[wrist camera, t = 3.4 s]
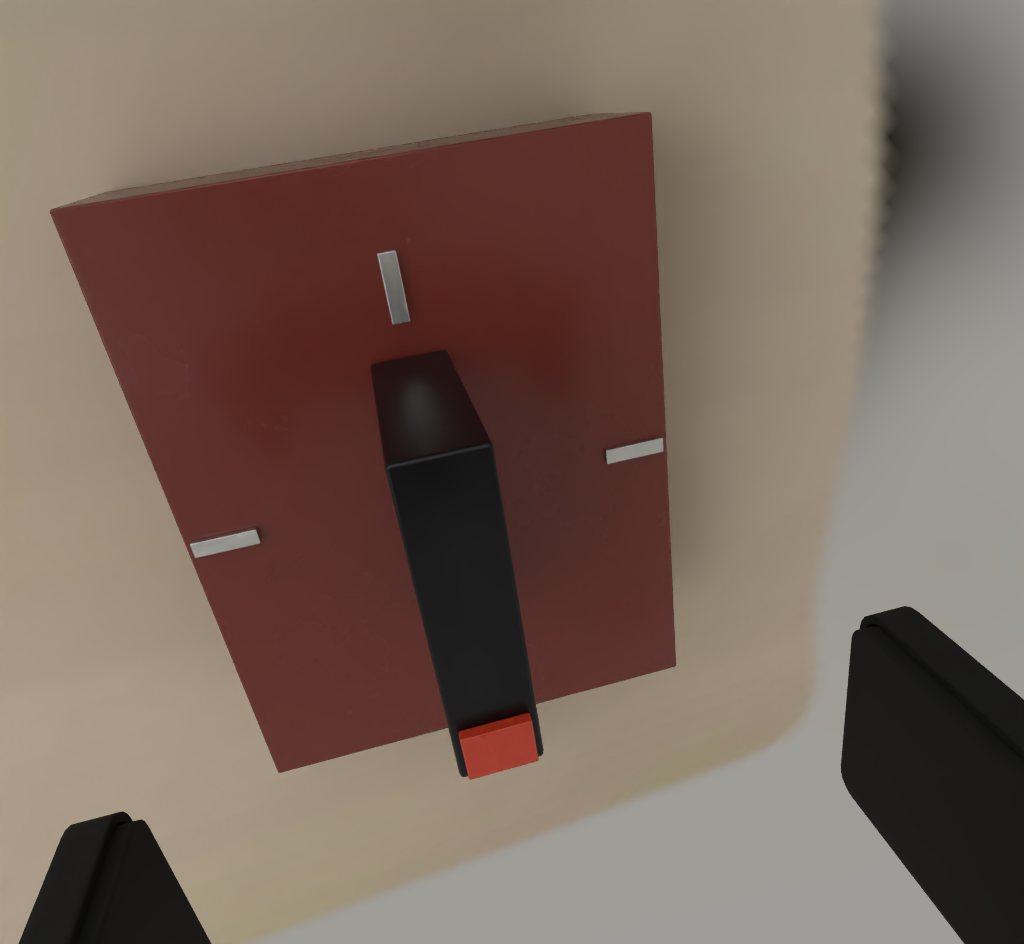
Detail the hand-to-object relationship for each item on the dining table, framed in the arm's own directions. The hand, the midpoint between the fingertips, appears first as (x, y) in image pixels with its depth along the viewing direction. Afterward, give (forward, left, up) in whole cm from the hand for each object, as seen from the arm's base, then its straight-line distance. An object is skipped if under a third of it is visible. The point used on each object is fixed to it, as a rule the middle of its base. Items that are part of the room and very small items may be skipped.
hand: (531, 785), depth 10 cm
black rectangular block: (0, 0, -8) cm, 8 cm away
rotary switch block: (0, 0, -12) cm, 12 cm away
